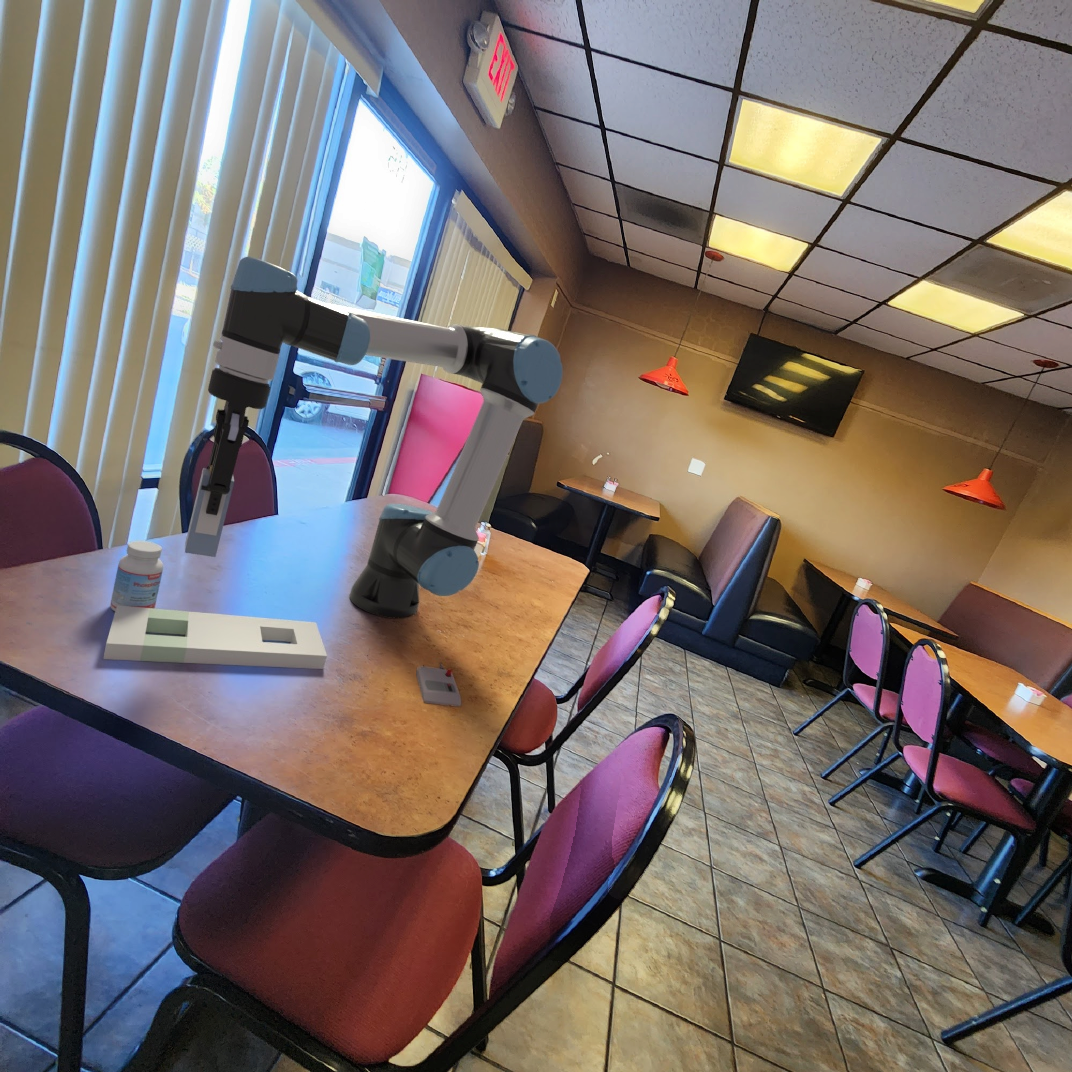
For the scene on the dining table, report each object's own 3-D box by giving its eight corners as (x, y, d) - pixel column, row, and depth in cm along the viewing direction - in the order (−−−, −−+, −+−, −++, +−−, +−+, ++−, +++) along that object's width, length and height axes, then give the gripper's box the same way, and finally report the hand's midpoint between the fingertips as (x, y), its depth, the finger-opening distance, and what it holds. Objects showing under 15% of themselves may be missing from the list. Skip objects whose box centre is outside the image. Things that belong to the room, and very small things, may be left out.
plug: (214, 547, 90) (234, 468, 88) (215, 557, 87) (235, 474, 85) (185, 543, 88) (204, 461, 86) (184, 552, 85) (204, 468, 82)
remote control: (424, 711, 96) (429, 695, 96) (412, 663, 110) (416, 649, 110) (461, 715, 99) (467, 700, 98) (445, 668, 113) (450, 654, 112)
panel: (312, 634, 107) (315, 622, 107) (323, 669, 97) (327, 655, 97) (114, 619, 91) (117, 605, 91) (103, 659, 81) (106, 643, 81)
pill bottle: (132, 621, 92) (145, 556, 90) (100, 607, 93) (112, 542, 91) (163, 610, 98) (176, 549, 96) (132, 597, 99) (144, 536, 97)
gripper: (212, 359, 87) (178, 505, 92) (214, 372, 73) (174, 543, 78) (265, 376, 91) (230, 515, 96) (278, 391, 78) (236, 552, 82)
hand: (205, 527), depth 87 cm, fingers closed on plug, 4 cm apart
